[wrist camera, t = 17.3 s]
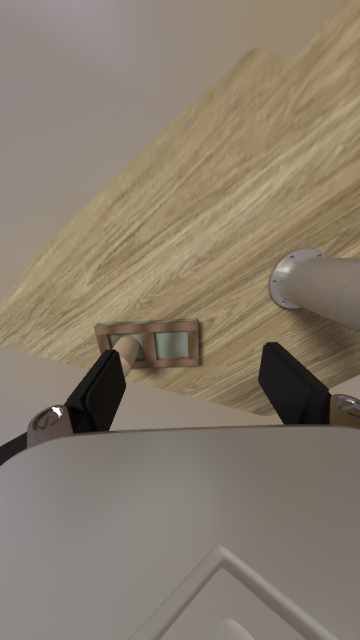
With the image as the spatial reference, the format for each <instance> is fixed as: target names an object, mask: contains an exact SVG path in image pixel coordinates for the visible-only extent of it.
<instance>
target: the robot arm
mask: <svg viewBox="0 0 360 640" xmlns="http://www.w3.org/2000/svg"><path fill="white" fill-rule="evenodd" d="M269 293H270V295H271V297H272V299H273V300H274V301H275V302H276V303H277V304H279V305H280V306H282V307H285V308H290V309H297V308H305V309H307V310H309V311H311V312H314V313H316V314H318V315H320V316H323V317H325V318H327V319H329V320H332V321H334V322H336V323H338V324H341V325H343V326H345V327H347V328H350V329H352V330H354V331H357V332H359V333H360V259H357V258H328V257H327V256H326V255H325V254H324V253H322V252H321V251H319V250H316V249H299V250H295V251H293V252H291V253H289V254H287V255H286V256H284V257H283V258H282V259H281V260H280V261H279V262H278V263H277V264H276V266H275V267H274V269H273V271H272V273H271V275H270V278H269ZM258 381H259V384H260V386H261V387H262V389H263V391H264V392H265V394H266V396H267V397H268V399H269V401H270V402H271V404H272V405H273V407H274V409H275V410H276V412H277V414H278V415H279V417H280V419H281V420H282V422H283V424H284V425H255V426H254V425H251V426H219V427H193V428H192V427H190V428H165V429H140V430H118V431H109V429H110V426H111V424H112V422H113V419H114V417H115V414H116V411H117V409H118V407H119V404H120V402H121V399H122V397H123V394H124V392H125V389H126V382H125V377H124V373H123V368H122V364H121V359H120V355H119V352H118V351H116V350H115V349H108V350H105V351H104V352H103V354H102V355H101V356H100V357H99V359H98V360H97V361H96V363H95V364H94V365H93V367H92V368H91V369H90V370H89V372H88V373H87V374H86V376H85V377H84V378H83V380H82V381H81V382H80V383H79V385H78V386H77V387H76V389H75V390H74V391H73V393H72V394H71V395H70V396H69V398H68V399H67V401H66V403H65V404H64V405H54V406H51V407H48V408H46V409H45V410H43V411H41V412H40V413H38V414H37V415H36V416H35V417H34V418H33V419H32V420H31V421H30V423H29V425H28V429H27V432H26V433H24V434H22V435H20V436H18V437H17V438H15V439H13V440H11V441H9V442H8V443H6V444H4V445H3V446H1V447H0V640H360V400H358V399H356V398H354V397H351V396H348V395H343V394H334V395H333V396H332V395H331V394H330V393H329V392H328V391H329V389H328V388H327V387H326V386H325V385H324V384H323V383H322V382H321V381H319V380H318V379H317V378H316V377H315V376H314V375H313V374H312V373H311V372H310V371H309V370H307V369H306V368H305V367H304V366H303V365H302V364H301V363H300V362H299V361H298V360H297V359H295V358H294V357H293V356H292V355H291V354H290V353H289V352H288V351H287V350H286V349H284V348H283V347H282V346H281V345H280V344H279V343H278V342H268V343H266V345H264V346H263V352H262V358H261V365H260V371H259V378H258Z"/></svg>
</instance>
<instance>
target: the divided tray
mask: <svg viewBox="0 0 360 640" xmlns="http://www.w3.org/2000/svg"><path fill="white" fill-rule="evenodd" d="M94 329H95V333H96V337H97V341H98V344H99V348H100V352H101V355H102V354H103V352H104V351H105V350H108V349H113V347H114V346H115V345H116V343H117V342H118V340H119V339H120V338H122V337H124V336H130V337H133V338H135V339H136V340H137V341H138V343H139V351H138V353H137V356H136V358H135V361H134V363H133V365H132V368H152V367H176V366H199V355H198V320H197V319H177V320H155V321H134V322H113V323H98V324H97V325H96V326H94Z"/></svg>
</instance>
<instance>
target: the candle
mask: <svg viewBox="0 0 360 640" xmlns="http://www.w3.org/2000/svg"><path fill="white" fill-rule="evenodd" d="M113 349H115V350H116V351H118V352H119V355H120V359H121V364H122V368H123V373H124V377H126V376H127V375H128V374H129V372H130V370H131V368H132V365H133V363H134V361H135V358H136V356H137V353H138V351H139V343H138V341H137V340H136V339H135V338H133V337H130V336H124V337H122V338H120V339H119V340H118V342H117V343H116V345H115V346H114V347H113Z"/></svg>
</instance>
